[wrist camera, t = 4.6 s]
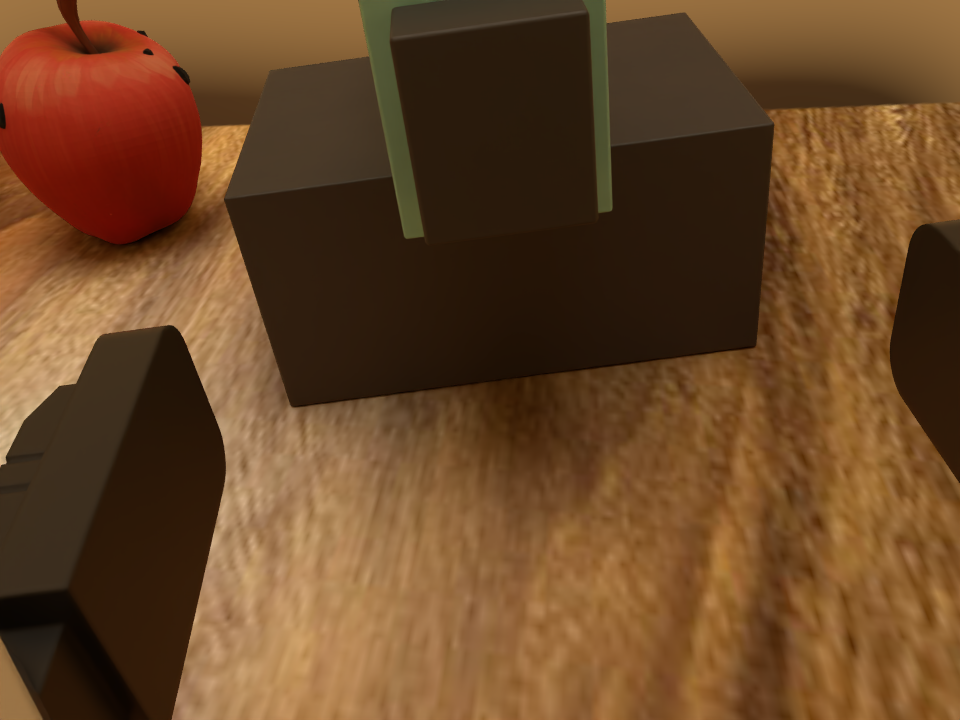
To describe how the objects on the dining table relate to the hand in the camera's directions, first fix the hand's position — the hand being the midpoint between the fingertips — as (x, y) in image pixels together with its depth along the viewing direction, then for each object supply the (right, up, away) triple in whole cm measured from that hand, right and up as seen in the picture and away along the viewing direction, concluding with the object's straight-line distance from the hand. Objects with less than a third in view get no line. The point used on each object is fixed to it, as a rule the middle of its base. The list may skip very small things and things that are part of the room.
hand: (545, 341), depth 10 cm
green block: (-1, +7, +9) cm, 12 cm away
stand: (0, +2, +16) cm, 16 cm away
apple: (-13, +4, +23) cm, 27 cm away
